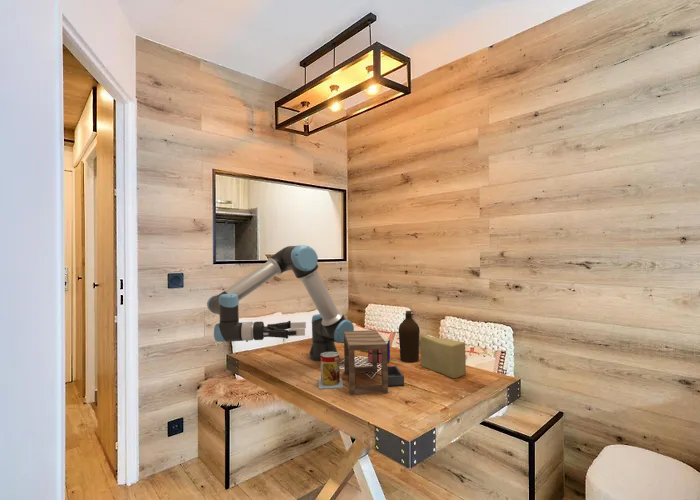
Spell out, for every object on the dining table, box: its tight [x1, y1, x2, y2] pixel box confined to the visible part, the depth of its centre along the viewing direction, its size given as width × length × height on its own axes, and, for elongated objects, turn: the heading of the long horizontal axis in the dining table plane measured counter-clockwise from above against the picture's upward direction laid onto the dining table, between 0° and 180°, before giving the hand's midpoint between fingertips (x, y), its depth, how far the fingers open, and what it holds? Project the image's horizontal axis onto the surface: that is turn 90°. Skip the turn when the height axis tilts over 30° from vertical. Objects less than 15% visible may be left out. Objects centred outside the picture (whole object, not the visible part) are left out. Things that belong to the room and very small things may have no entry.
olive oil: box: [398, 310, 420, 363], centre depth 190 cm, size 11×11×25 cm
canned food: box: [320, 351, 341, 386], centre depth 157 cm, size 8×8×12 cm
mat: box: [318, 376, 344, 390], centre depth 157 cm, size 12×10×1 cm
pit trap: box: [380, 365, 405, 388], centre depth 160 cm, size 14×7×4 cm, turn 5°
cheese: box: [420, 334, 467, 379], centre depth 172 cm, size 22×10×15 cm, turn 38°
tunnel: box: [343, 329, 389, 396], centre depth 158 cm, size 27×15×19 cm, turn 5°
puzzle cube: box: [367, 338, 391, 364], centre depth 190 cm, size 10×10×10 cm
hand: (305, 328), depth 156 cm, fingers open, 13 cm apart
